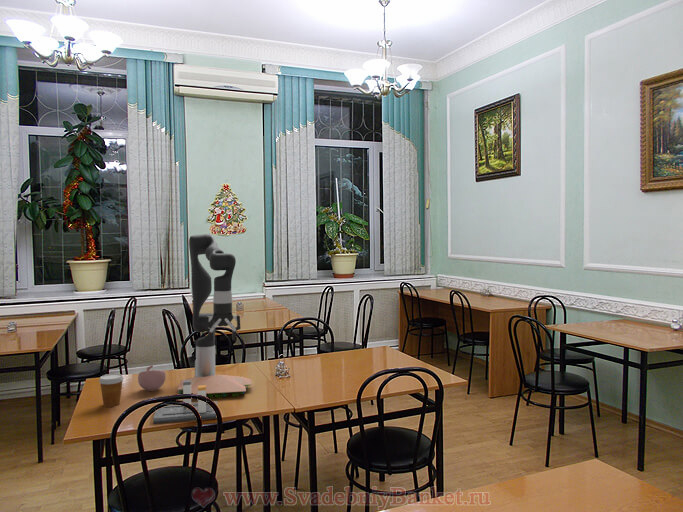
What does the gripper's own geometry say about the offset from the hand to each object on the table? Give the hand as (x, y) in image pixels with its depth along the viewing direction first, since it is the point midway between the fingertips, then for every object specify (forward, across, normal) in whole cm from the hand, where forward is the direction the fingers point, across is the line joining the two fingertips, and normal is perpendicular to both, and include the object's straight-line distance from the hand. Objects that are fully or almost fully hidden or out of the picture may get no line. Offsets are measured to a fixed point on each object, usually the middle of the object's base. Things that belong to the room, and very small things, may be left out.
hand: (222, 340), depth 211 cm
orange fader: (+27, -8, -8) cm, 30 cm away
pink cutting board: (+29, -3, +24) cm, 38 cm away
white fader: (+27, -14, +1) cm, 31 cm away
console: (+28, -14, -4) cm, 32 cm away
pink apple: (+28, -31, +34) cm, 54 cm away
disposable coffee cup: (+29, -46, +17) cm, 56 cm away
